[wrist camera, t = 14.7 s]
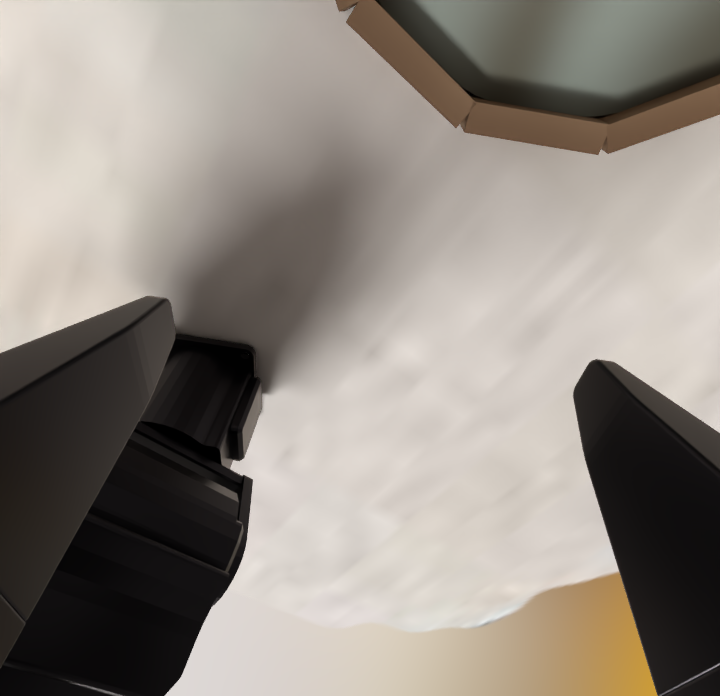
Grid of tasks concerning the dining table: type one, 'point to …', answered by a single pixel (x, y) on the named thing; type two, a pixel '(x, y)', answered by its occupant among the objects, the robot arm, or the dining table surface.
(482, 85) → the round tray
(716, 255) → the dining table surface
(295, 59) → the dining table surface
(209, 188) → the dining table surface
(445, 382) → the dining table surface
